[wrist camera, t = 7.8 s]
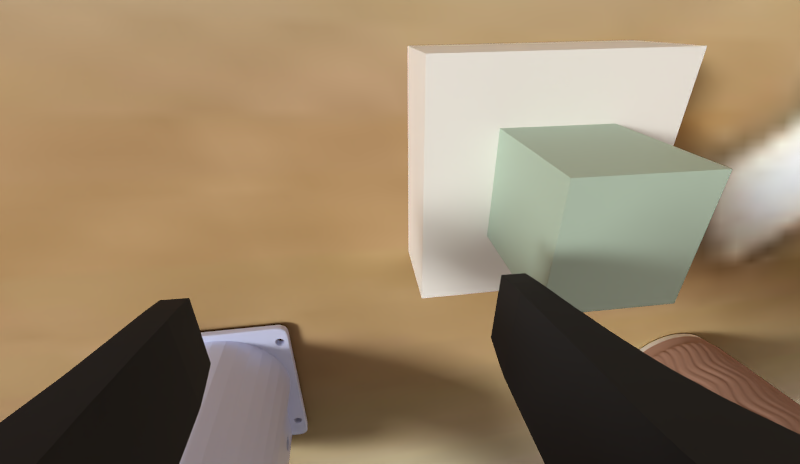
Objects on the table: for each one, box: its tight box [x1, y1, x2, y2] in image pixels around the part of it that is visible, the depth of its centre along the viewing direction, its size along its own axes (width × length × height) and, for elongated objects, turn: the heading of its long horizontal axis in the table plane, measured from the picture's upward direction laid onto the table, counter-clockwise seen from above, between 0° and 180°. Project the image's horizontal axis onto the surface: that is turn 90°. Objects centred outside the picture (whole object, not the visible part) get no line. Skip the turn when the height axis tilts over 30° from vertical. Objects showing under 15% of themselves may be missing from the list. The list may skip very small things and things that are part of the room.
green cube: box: [487, 124, 732, 312], centre depth 13 cm, size 4×4×5 cm
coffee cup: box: [639, 334, 800, 434], centre depth 23 cm, size 10×10×12 cm
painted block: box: [408, 40, 707, 298], centre depth 17 cm, size 10×10×4 cm
